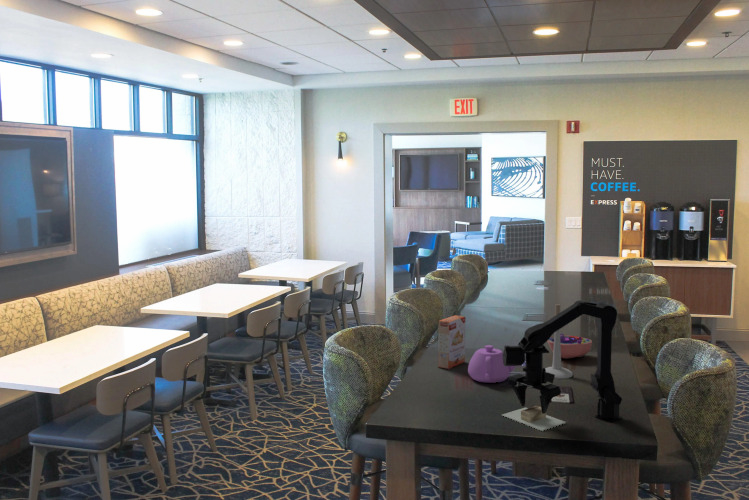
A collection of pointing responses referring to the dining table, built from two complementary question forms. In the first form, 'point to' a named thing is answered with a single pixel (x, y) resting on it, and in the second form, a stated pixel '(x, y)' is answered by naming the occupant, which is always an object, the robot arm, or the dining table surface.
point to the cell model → (572, 346)
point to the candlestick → (558, 356)
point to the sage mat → (538, 424)
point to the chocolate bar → (564, 396)
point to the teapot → (489, 365)
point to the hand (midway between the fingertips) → (533, 409)
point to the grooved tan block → (532, 414)
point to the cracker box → (451, 341)
